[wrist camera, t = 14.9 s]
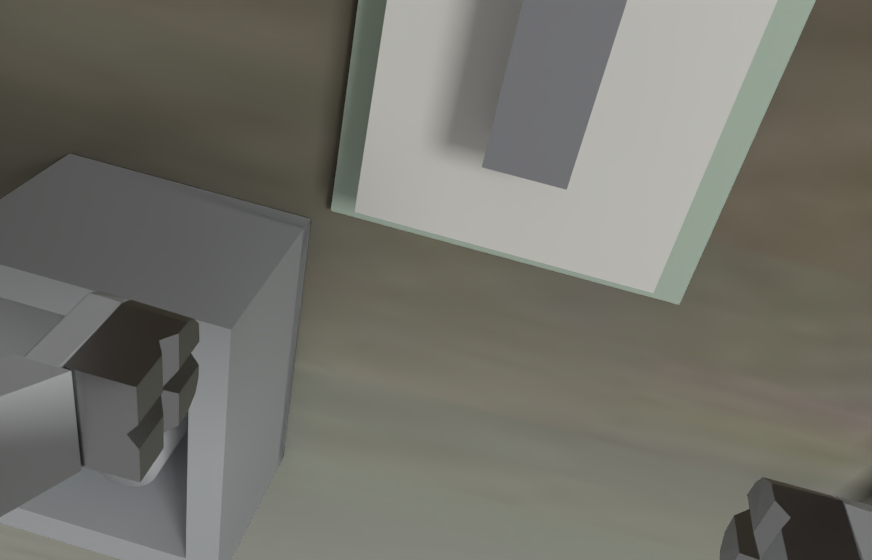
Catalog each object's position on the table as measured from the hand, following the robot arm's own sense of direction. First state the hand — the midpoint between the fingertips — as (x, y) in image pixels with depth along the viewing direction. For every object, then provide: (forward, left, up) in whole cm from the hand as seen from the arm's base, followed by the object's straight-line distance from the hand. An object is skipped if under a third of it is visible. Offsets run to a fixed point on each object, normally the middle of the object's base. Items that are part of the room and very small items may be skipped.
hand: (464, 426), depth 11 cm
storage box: (+19, -15, -22) cm, 33 cm away
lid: (0, 0, -22) cm, 22 cm away
